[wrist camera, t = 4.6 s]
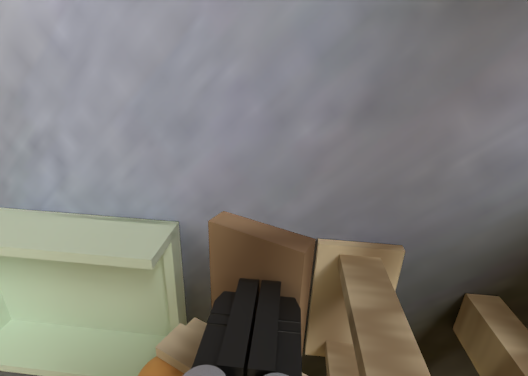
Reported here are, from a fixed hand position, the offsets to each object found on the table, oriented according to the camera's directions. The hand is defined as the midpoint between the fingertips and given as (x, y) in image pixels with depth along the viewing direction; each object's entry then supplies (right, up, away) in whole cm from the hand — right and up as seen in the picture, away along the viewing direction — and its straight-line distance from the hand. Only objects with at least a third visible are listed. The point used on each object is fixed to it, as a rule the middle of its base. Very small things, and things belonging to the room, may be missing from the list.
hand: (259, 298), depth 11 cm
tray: (-12, -2, +10) cm, 16 cm away
